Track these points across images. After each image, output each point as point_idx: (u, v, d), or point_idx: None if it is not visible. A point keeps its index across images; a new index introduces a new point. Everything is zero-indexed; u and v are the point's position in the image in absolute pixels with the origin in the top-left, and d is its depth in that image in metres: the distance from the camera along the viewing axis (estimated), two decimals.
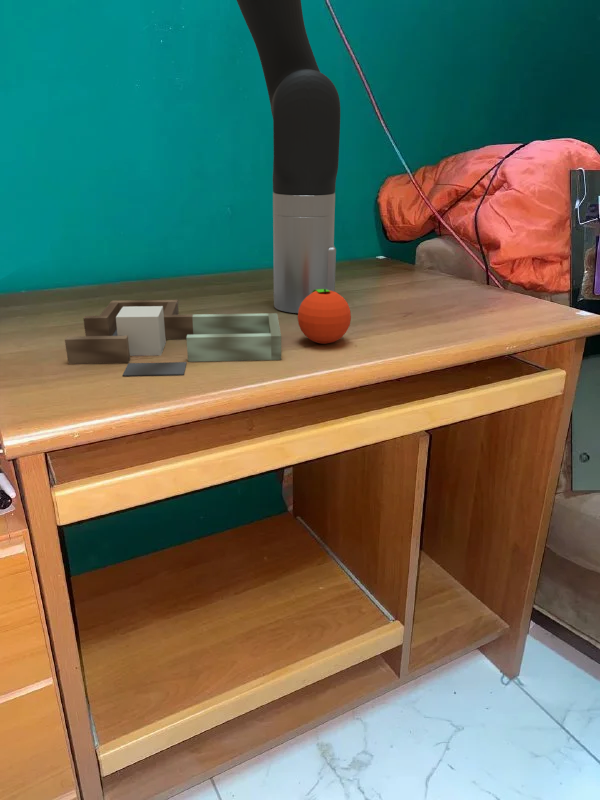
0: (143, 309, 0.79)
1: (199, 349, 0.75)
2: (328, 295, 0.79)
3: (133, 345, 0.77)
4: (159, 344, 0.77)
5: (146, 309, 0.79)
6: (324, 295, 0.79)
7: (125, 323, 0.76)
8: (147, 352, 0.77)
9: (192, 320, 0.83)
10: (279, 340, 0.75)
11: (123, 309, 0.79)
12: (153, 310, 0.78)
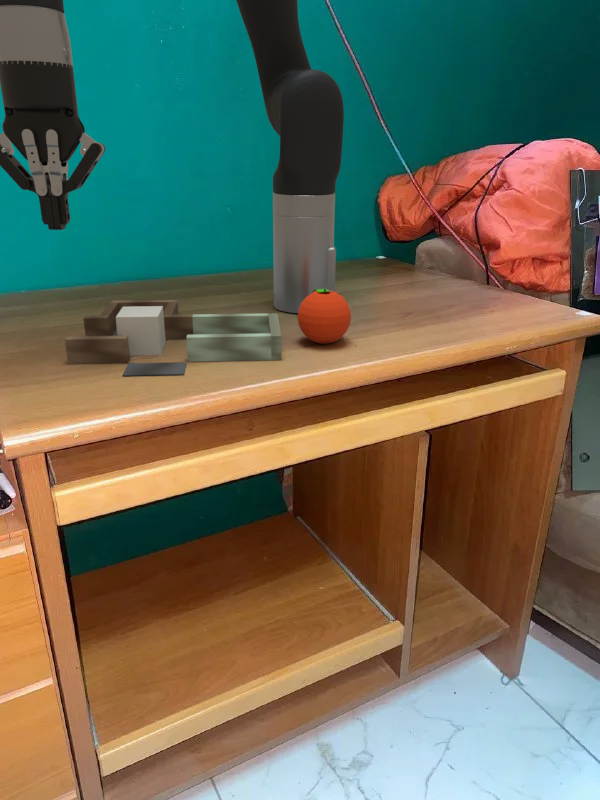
0: (143, 309, 0.79)
1: (199, 349, 0.75)
2: (328, 295, 0.79)
3: (133, 345, 0.77)
4: (159, 344, 0.77)
5: (146, 309, 0.79)
6: (324, 295, 0.79)
7: (125, 323, 0.76)
8: (147, 352, 0.77)
9: (192, 320, 0.83)
10: (279, 340, 0.75)
11: (123, 309, 0.79)
12: (153, 310, 0.78)
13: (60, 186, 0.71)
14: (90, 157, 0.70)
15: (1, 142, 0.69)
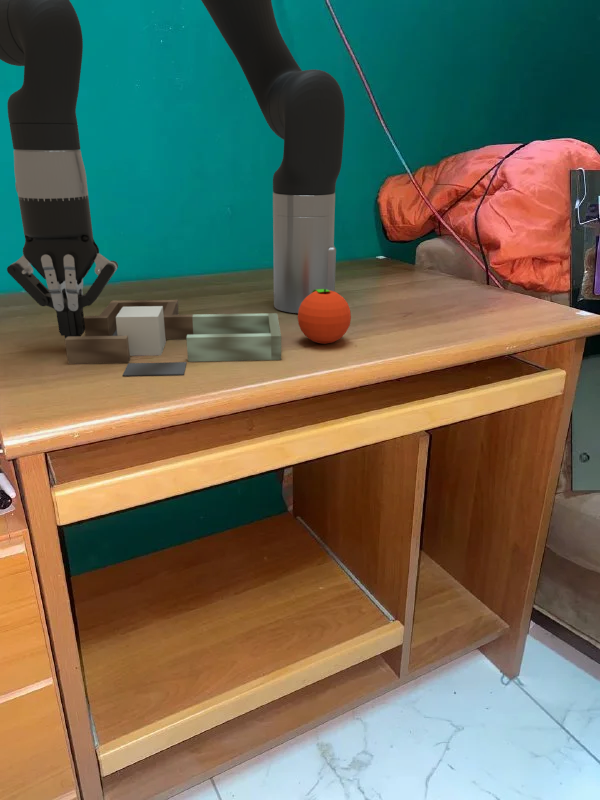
0: (143, 309, 0.79)
1: (199, 349, 0.75)
2: (328, 295, 0.79)
3: (133, 345, 0.77)
4: (159, 344, 0.77)
5: (146, 309, 0.79)
6: (324, 295, 0.79)
7: (125, 323, 0.76)
8: (147, 352, 0.77)
9: (192, 320, 0.83)
10: (279, 340, 0.75)
11: (123, 309, 0.79)
12: (153, 310, 0.78)
13: (76, 302, 0.76)
14: (104, 277, 0.75)
15: (21, 264, 0.74)
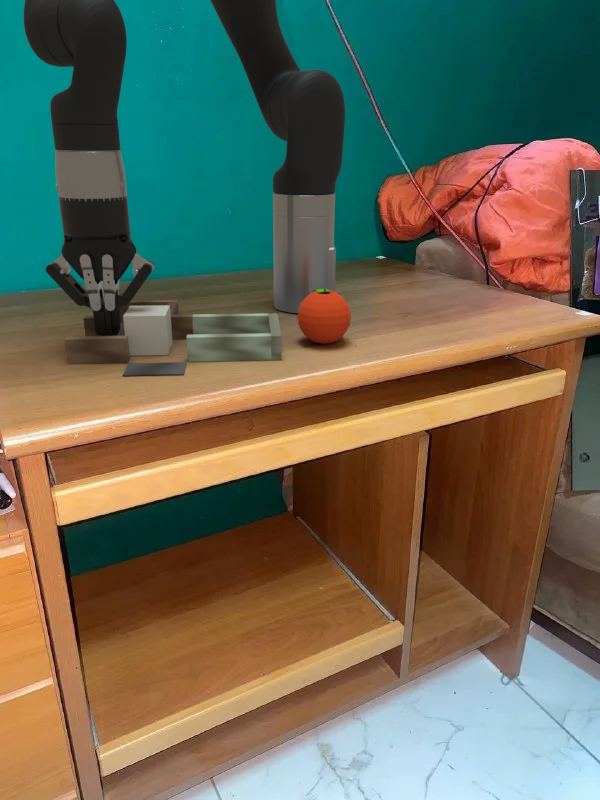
0: (150, 308, 0.79)
1: (199, 349, 0.75)
2: (328, 295, 0.79)
3: (140, 345, 0.77)
4: (166, 343, 0.77)
5: (153, 308, 0.79)
6: (324, 295, 0.79)
7: (133, 322, 0.76)
8: (154, 351, 0.77)
9: (192, 320, 0.83)
10: (279, 340, 0.75)
11: (130, 308, 0.78)
12: (160, 309, 0.78)
13: (113, 302, 0.76)
14: (141, 277, 0.75)
15: (59, 264, 0.75)
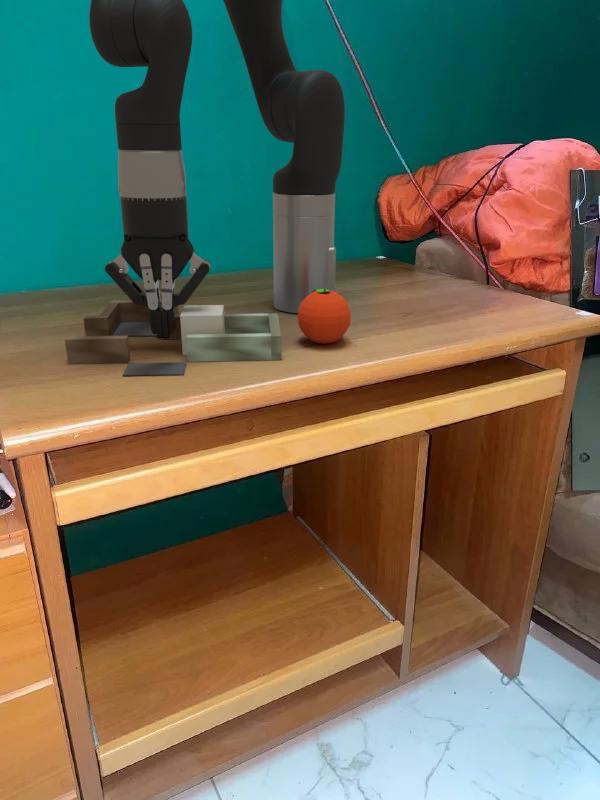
0: (205, 308, 0.79)
1: (199, 349, 0.75)
2: (328, 295, 0.79)
3: None
4: None
5: (207, 307, 0.79)
6: (324, 295, 0.79)
7: (189, 322, 0.76)
8: None
9: None
10: (279, 340, 0.75)
11: (185, 308, 0.79)
12: (215, 309, 0.79)
13: (170, 301, 0.77)
14: (199, 276, 0.76)
15: (118, 263, 0.75)
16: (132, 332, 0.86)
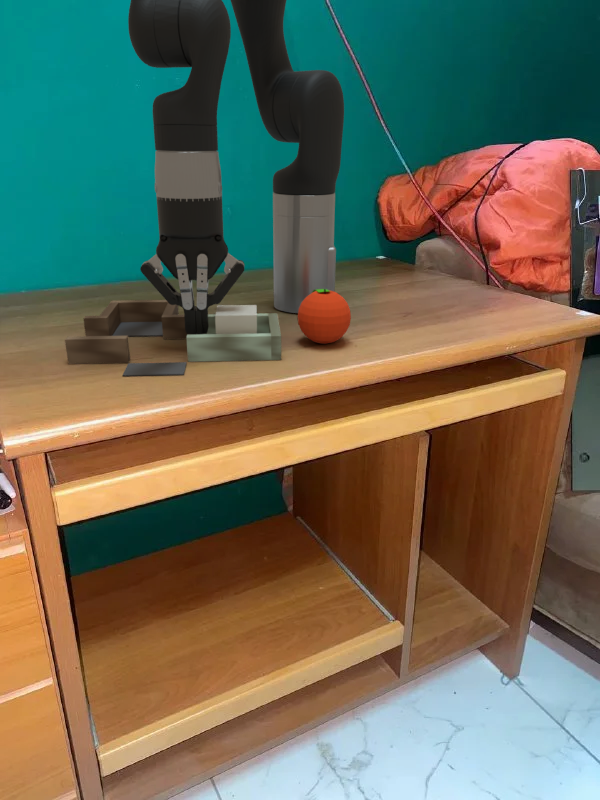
0: (238, 308, 0.79)
1: (199, 349, 0.75)
2: (328, 295, 0.79)
3: None
4: None
5: (241, 307, 0.80)
6: (324, 295, 0.79)
7: (224, 322, 0.76)
8: None
9: None
10: (279, 340, 0.75)
11: (219, 308, 0.79)
12: (249, 309, 0.79)
13: (205, 301, 0.77)
14: (234, 276, 0.76)
15: (153, 263, 0.75)
16: (132, 332, 0.86)
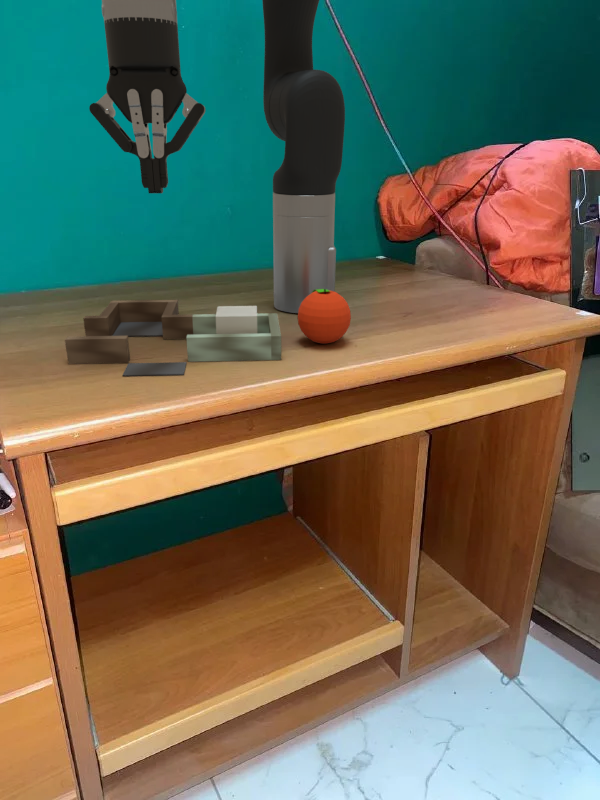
0: (239, 309, 0.79)
1: (199, 349, 0.75)
2: (328, 295, 0.79)
3: None
4: None
5: (241, 308, 0.80)
6: (324, 295, 0.79)
7: (225, 323, 0.76)
8: None
9: (192, 320, 0.83)
10: (279, 340, 0.75)
11: (219, 309, 0.79)
12: (249, 310, 0.79)
13: (162, 148, 0.70)
14: (193, 118, 0.69)
15: (104, 103, 0.69)
16: (132, 332, 0.86)
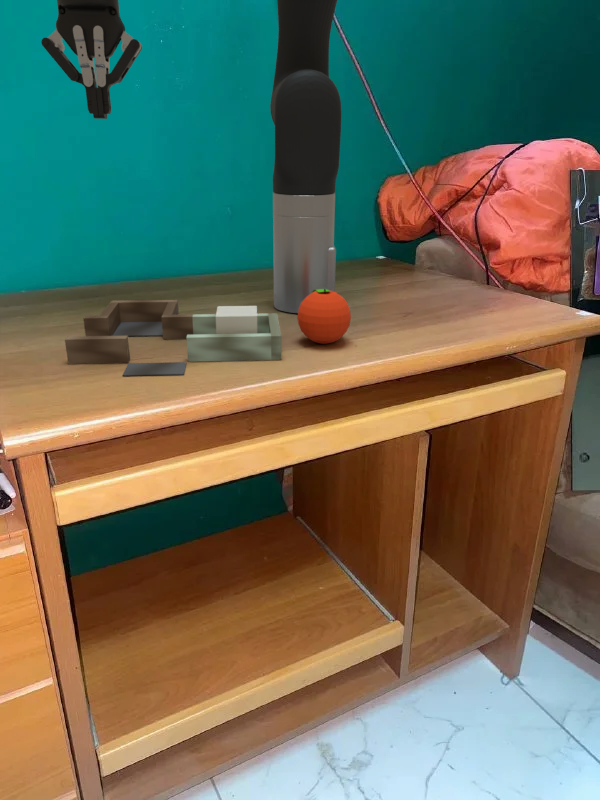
0: (239, 309, 0.79)
1: (199, 349, 0.75)
2: (328, 295, 0.79)
3: None
4: None
5: (241, 308, 0.80)
6: (324, 295, 0.79)
7: (225, 323, 0.76)
8: None
9: (192, 320, 0.83)
10: (279, 340, 0.75)
11: (219, 309, 0.79)
12: (249, 310, 0.79)
13: (104, 78, 0.83)
14: (130, 52, 0.82)
15: (54, 39, 0.81)
16: (132, 332, 0.86)
